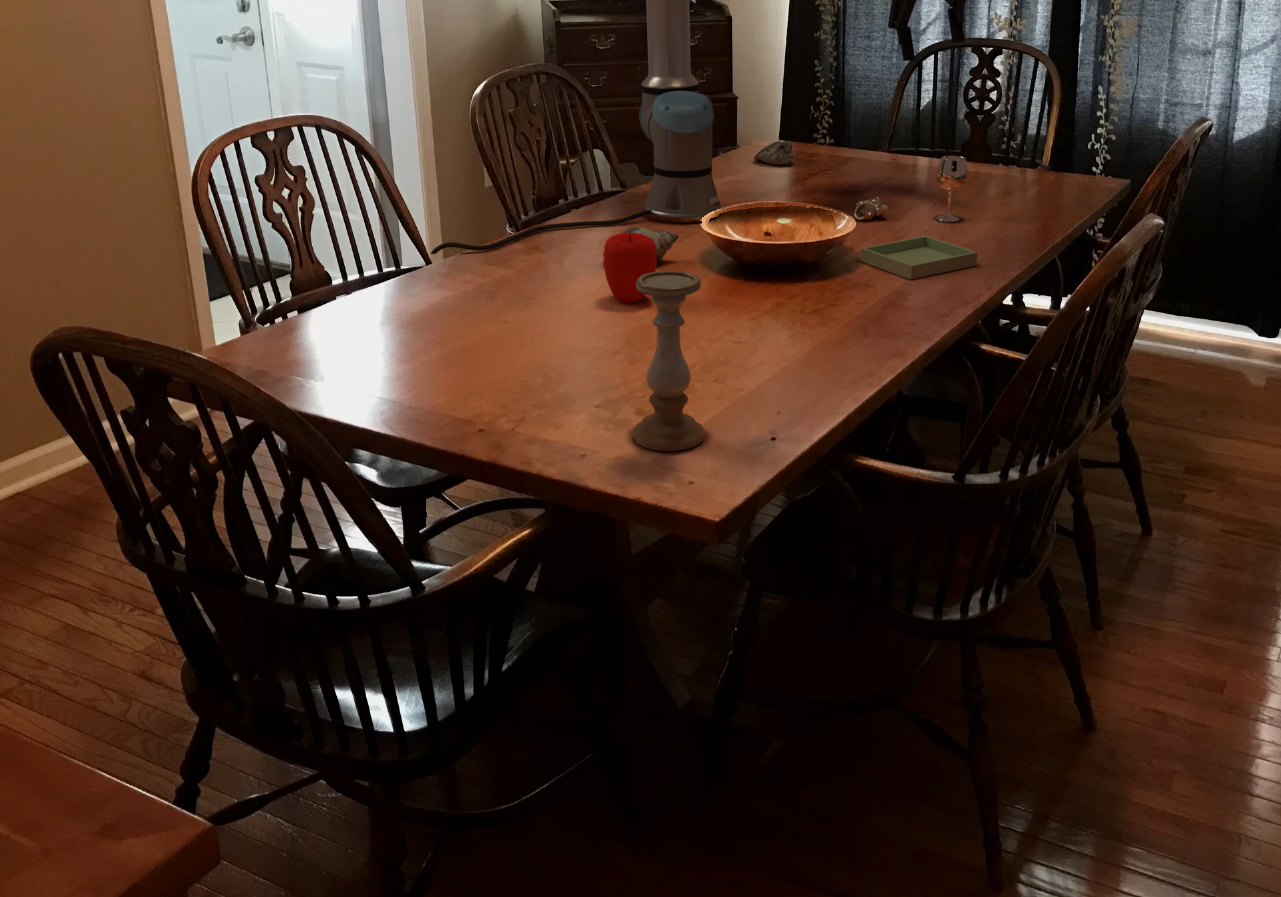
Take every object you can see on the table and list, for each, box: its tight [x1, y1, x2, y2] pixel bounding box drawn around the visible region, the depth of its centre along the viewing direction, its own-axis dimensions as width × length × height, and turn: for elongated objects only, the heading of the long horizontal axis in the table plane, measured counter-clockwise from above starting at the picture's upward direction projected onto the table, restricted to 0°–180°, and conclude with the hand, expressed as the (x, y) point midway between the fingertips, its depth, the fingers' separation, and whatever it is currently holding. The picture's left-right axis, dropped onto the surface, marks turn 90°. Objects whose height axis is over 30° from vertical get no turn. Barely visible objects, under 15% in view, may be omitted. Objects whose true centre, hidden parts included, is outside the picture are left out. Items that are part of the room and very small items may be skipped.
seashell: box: [602, 226, 679, 263], centre depth 225 cm, size 6×8×12 cm
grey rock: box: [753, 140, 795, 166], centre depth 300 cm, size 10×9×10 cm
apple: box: [603, 232, 658, 304], centre depth 205 cm, size 9×9×11 cm
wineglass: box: [936, 155, 968, 223], centre depth 249 cm, size 6×6×12 cm
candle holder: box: [632, 270, 705, 452], centre depth 153 cm, size 9×9×20 cm
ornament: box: [853, 196, 889, 221], centre depth 252 cm, size 8×7×4 cm
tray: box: [859, 235, 978, 280], centre depth 223 cm, size 15×13×2 cm
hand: (933, 51), depth 254 cm, fingers open, 13 cm apart
